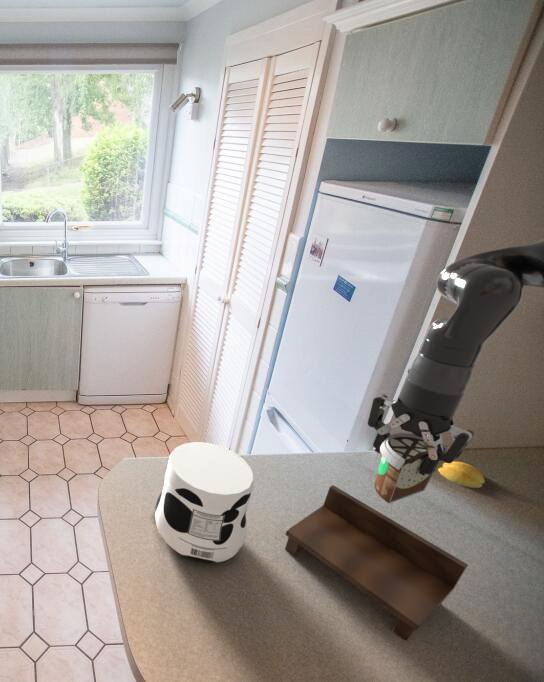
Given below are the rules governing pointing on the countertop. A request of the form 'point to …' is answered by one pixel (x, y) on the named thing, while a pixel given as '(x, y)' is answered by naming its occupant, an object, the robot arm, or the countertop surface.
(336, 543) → the shelf
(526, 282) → the robot arm
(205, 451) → the milk container
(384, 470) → the food container
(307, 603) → the countertop surface
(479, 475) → the yellow ridged fruit
